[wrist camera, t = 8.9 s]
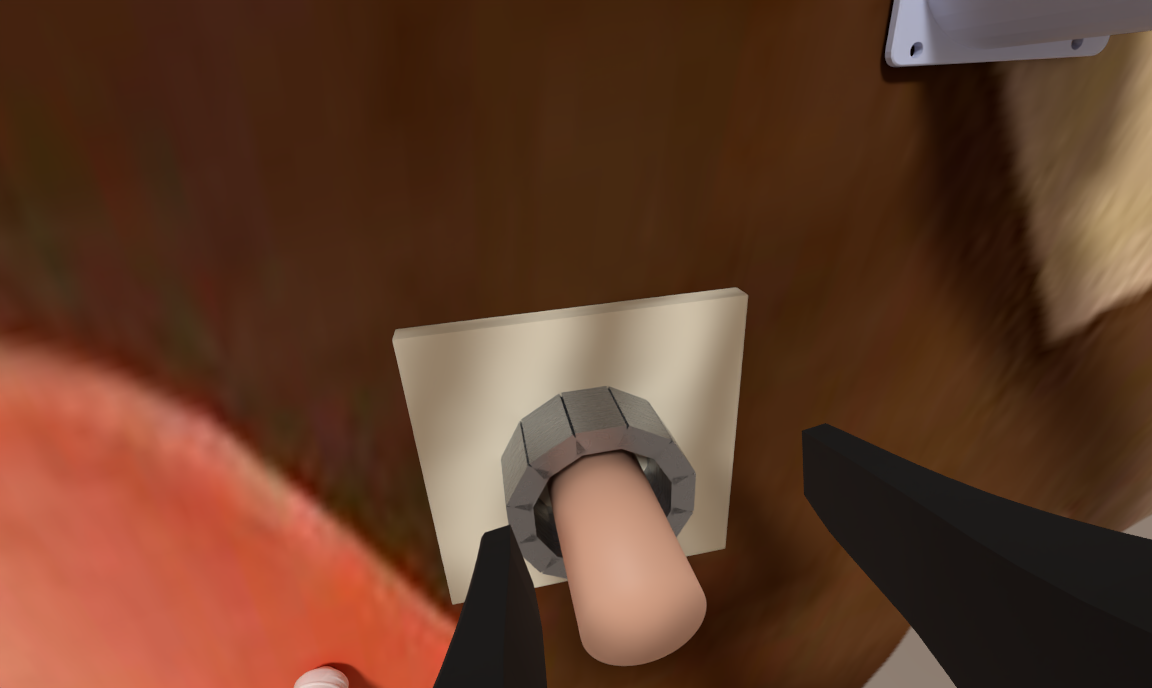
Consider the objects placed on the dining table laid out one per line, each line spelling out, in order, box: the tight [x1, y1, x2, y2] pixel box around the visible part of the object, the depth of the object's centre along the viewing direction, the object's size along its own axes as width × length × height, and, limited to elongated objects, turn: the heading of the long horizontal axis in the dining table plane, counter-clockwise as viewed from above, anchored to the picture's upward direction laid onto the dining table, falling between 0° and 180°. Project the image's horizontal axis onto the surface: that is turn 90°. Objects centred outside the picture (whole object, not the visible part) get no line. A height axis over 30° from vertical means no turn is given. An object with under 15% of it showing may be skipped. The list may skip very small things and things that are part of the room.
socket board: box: [393, 287, 748, 604], centre depth 22 cm, size 14×14×4 cm
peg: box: [547, 449, 706, 666], centre depth 19 cm, size 4×4×8 cm
